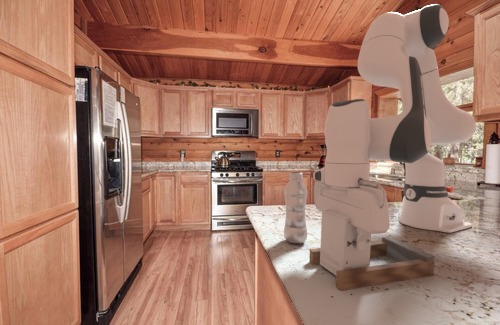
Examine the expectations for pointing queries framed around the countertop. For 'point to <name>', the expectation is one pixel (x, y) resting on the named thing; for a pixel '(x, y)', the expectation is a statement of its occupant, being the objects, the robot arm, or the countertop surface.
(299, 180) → the plastic bottle
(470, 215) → the countertop surface
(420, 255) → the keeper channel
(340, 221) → the supplement box
